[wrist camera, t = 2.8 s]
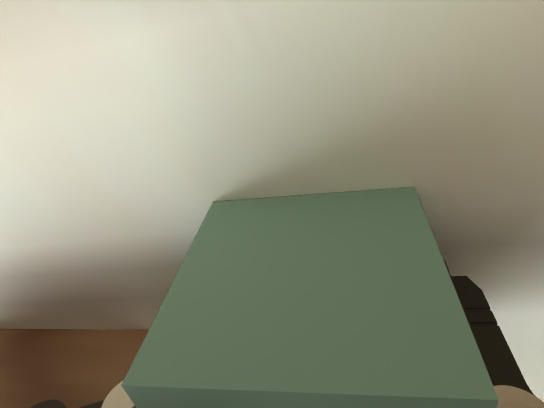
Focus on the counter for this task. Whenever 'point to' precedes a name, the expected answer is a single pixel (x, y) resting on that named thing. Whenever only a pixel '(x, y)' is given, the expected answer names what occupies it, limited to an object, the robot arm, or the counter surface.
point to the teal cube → (312, 312)
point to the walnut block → (64, 364)
